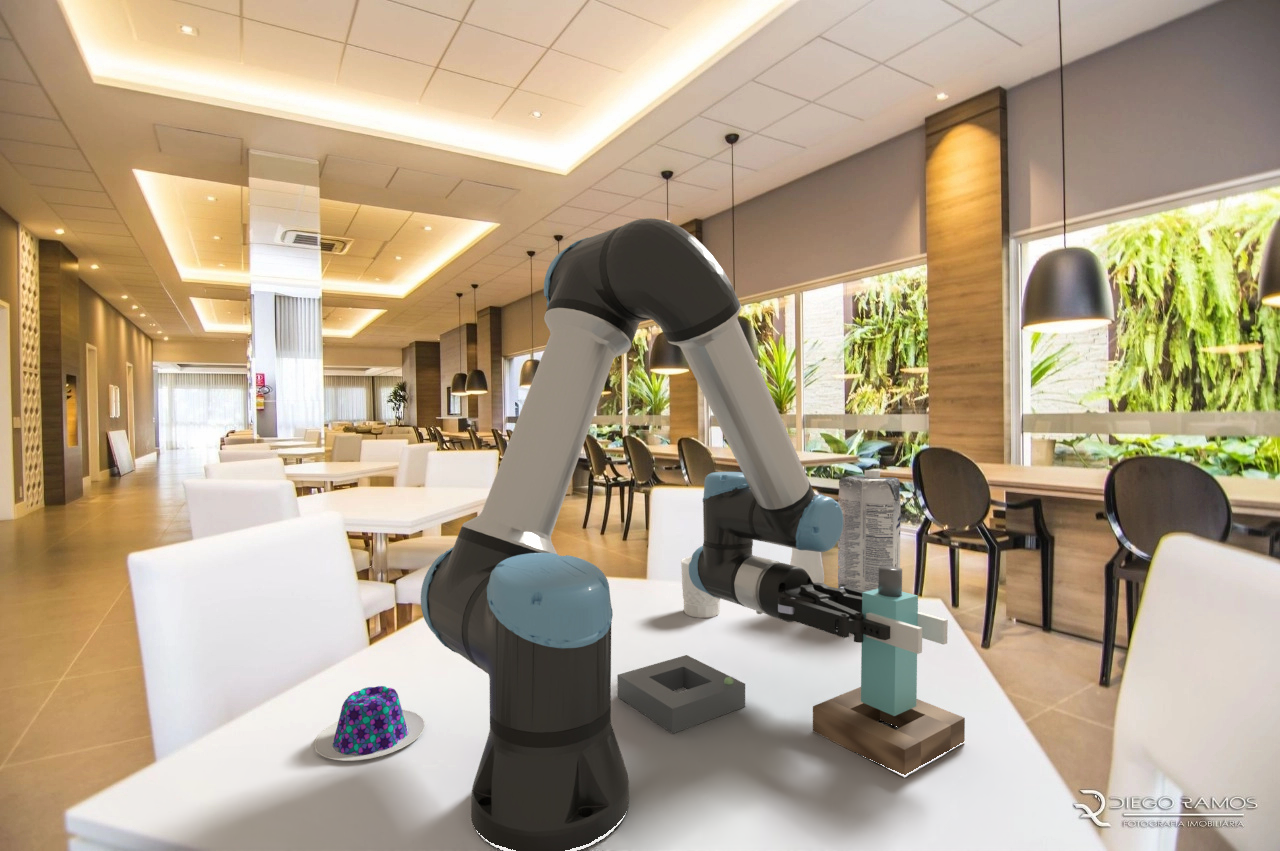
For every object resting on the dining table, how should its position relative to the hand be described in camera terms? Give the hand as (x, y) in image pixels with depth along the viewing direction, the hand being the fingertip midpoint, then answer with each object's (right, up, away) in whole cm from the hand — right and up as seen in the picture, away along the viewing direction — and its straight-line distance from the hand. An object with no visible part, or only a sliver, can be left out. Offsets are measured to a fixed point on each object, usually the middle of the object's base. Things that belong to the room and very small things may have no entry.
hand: (932, 636), depth 70 cm
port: (-27, -13, +14) cm, 33 cm away
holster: (-3, -13, +4) cm, 14 cm away
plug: (-3, -9, +4) cm, 11 cm away
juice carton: (+12, -13, +53) cm, 56 cm away
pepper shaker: (0, -13, +53) cm, 55 cm away
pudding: (-64, -14, +5) cm, 66 cm away
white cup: (-21, -13, +51) cm, 56 cm away
